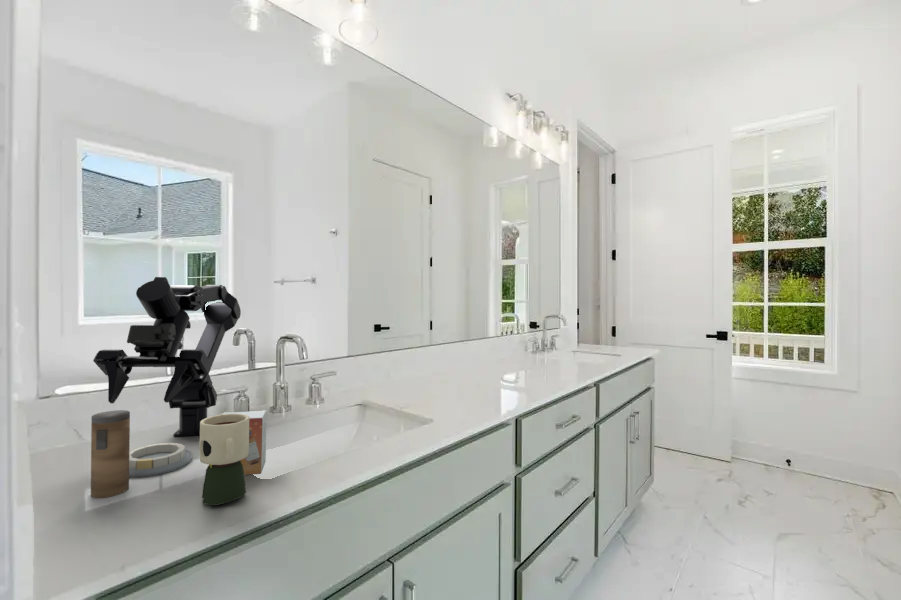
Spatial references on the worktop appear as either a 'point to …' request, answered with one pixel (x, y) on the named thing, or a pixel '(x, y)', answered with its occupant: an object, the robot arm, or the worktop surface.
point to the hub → (158, 459)
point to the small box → (255, 442)
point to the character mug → (224, 456)
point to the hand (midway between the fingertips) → (138, 401)
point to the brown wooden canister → (110, 453)
